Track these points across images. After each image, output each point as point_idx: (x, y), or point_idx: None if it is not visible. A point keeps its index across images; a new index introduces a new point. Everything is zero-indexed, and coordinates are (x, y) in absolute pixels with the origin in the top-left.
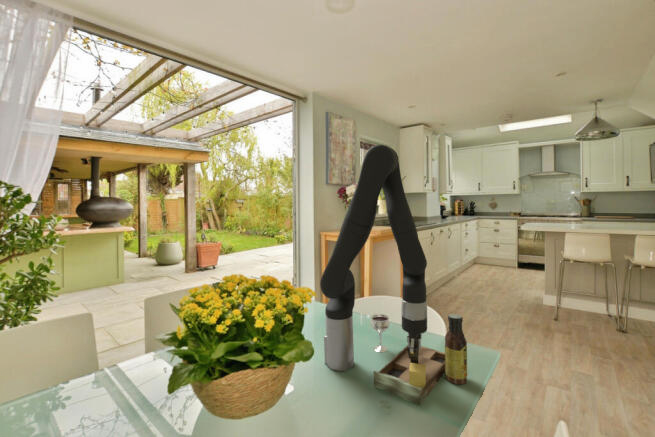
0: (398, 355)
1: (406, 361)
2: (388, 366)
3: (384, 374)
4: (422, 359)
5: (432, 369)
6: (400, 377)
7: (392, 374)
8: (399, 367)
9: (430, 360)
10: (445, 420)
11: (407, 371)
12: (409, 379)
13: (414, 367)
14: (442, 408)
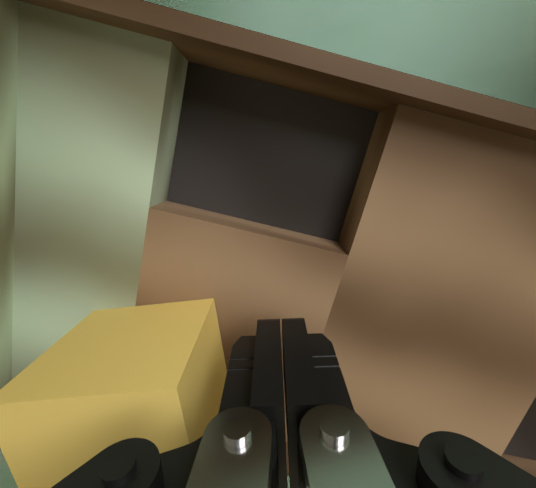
0: (532, 129)
1: (456, 223)
2: (288, 69)
3: (146, 66)
4: (523, 344)
5: (383, 424)
6: (171, 225)
7: (274, 127)
8: (366, 170)
9: (519, 399)
10: (3, 469)
11: (287, 262)
12: (58, 343)
13: (93, 446)
14: None
